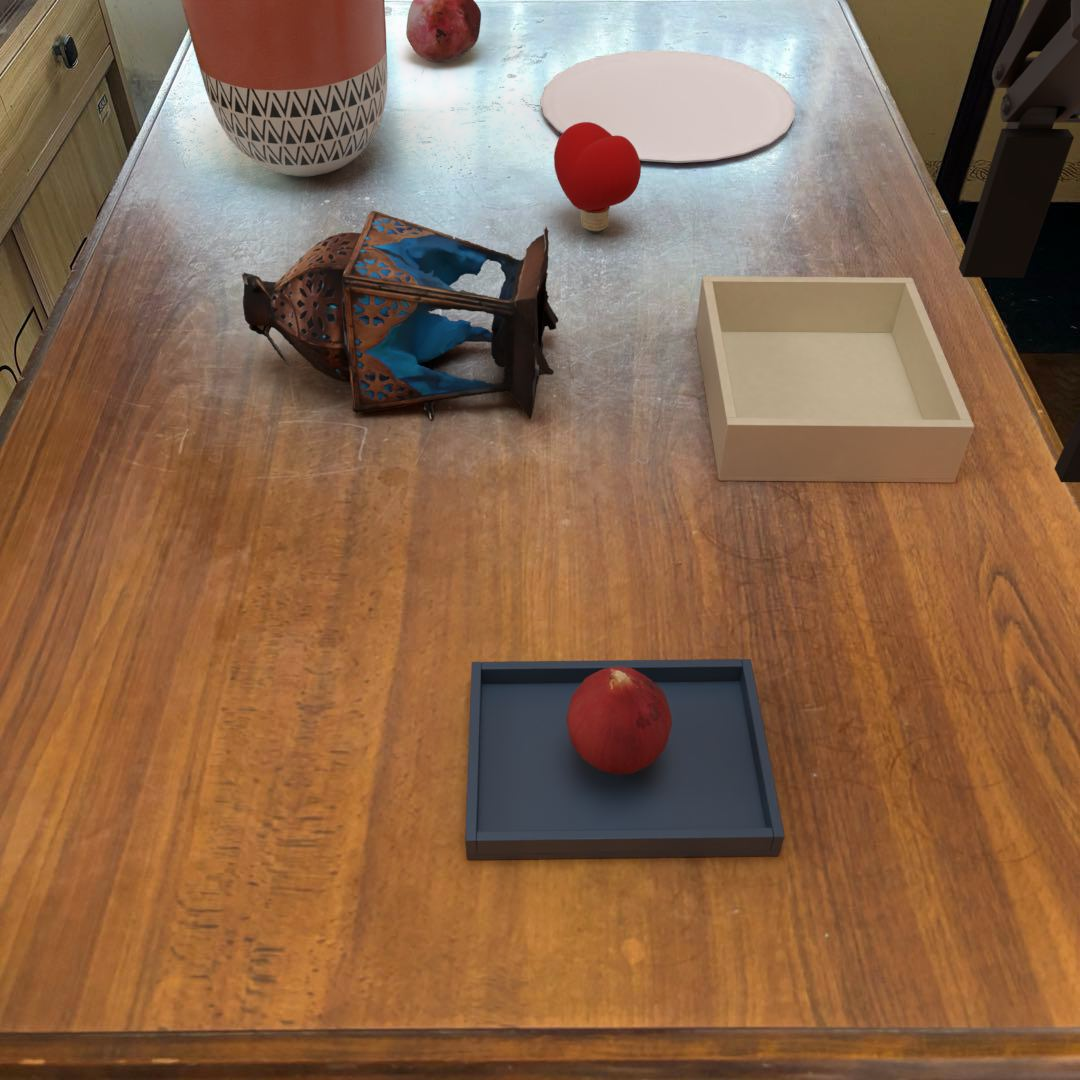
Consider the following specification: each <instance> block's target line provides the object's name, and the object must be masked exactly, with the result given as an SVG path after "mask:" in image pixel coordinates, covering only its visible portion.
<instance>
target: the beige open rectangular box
mask: <svg viewBox="0 0 1080 1080" xmlns="http://www.w3.org/2000/svg"><path fill="white" fill-rule="evenodd" d="M698 301H699V302H698V306H697V307H698V308H697V316H696V323H695V335H696V341H697V348H698V354H699V360H700V366H701V367H700V368H701V374H702V380H703V381H702V382H703V386H704V393H705V400H706V407H707V413H708V419H709V427H710V433H711V439H712V445H713V451H714V460H715V465H716V472H717V479H718V481H719V482H720V481H724V482H726V481H728V482H729V481H730V482H732V481H733V482H826V483H827V482H830V483H831V482H833V483H835V482H838V483H840V482H841V483H842V482H844V483H936V484H937V483H938V484H939V483H945V484H947V483H949V484H950V483H952V484H953V483H956V479H957V477H958V473H959V471H960V467H961V466H962V462H963V460H964V457H965V454H966V451H967V449H968V447H969V444H970V440H971V438H972V435H973V433H974V430H975V425H974V422H973V420H972V417H971V415H970V413H969V410H968V407H967V405H966V403H965V400H964V398H963V396H962V393H961V390H960V389H959V386H958V384H957V382H956V379H955V377H954V374H953V372H952V370H951V367H950V365H949V363H948V360H947V358H946V356H945V353H944V351H943V349H942V345H941V343H940V341H939V339H938V336H937V334H936V332H935V329H934V327H933V324H932V322H931V320H930V317H929V315H928V312H927V310H926V308H925V305H924V302H923V301H922V297H921V295H920V293H919V290H918V287H917V286H916V283H915V281H914V279H913V277H877V276H876V277H875V276H874V277H865V276H864V277H863V276H861V277H860V276H857V277H856V276H855V277H854V276H754V275H753V276H751V275H749V276H745V275H744V276H742V275H740V276H739V275H735V276H734V275H723V276H722V275H702V276H701V282H700V291H699V299H698Z"/></svg>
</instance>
